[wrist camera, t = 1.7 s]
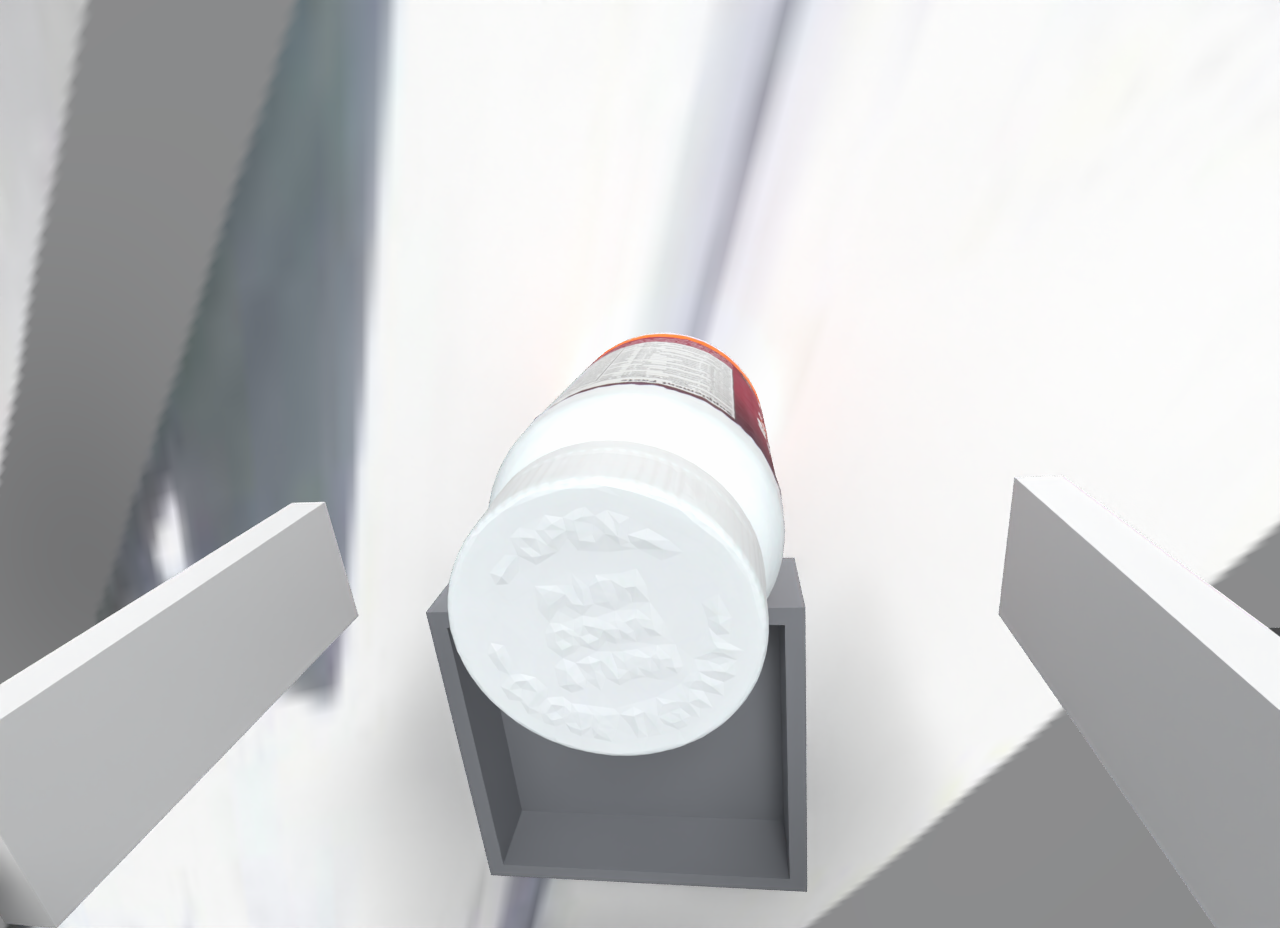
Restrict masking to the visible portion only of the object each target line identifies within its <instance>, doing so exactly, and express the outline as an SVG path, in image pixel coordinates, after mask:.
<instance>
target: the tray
mask: <svg viewBox="0 0 1280 928" xmlns="http://www.w3.org/2000/svg"><path fill="white" fill-rule="evenodd" d="M448 590H449V583H448V585H447V586H446V587H445V589H444V590H443V591H442V592H441V594H440V595H439V596H438V598H437V599H436V600H435V601H434V603H433V604H432V605H431V607H430V608H429V609H428V611H427V612H426V614H427V618H428V622H429V626H430V630H431V634H432V638H433V642H434V646H435V650H436V654H437V658H438V662H439V666H440V670H441V674H442V678H443V682H444V687H445V691H446V695H447V699H448V703H449V707H450V711H451V715H452V719H453V723H454V727H455V731H456V735H457V739H458V743H459V747H460V751H461V755H462V759H463V763H464V767H465V771H466V775H467V779H468V783H469V787H470V791H471V795H472V799H473V803H474V807H475V811H476V815H477V819H478V823H479V827H480V831H481V835H482V840H483V844H484V848H485V852H486V856H487V860H488V864H489V868H490V872H491V875H501V876H520V877H538V878H557V879H576V880H595V881H614V882H633V883H652V884H671V885H690V886H709V887H727V888H746V889H765V890H784V891H803V892H807V807H806V650H805V604H804V600H803V595H802V591H801V586H800V582H799V577H798V572H797V568H796V563H795V559H794V558H782V562H781V566H780V570H779V573H778V576H777V579H776V582H775V584H774V586H773V589H772V591H771V593H770V595H769V596H768V598H767V604H768V615H769V637H768V645H767V652H766V656H765V660H764V663H763V667H762V670H761V673H760V675H759V678H758V680H757V682H756V684H755V686H754V688H753V689H752V691H751V693H750V694H749V696H748V697H747V699H746V700H745V701H744V703H743V704H742V705H741V706H740V707H739V709H738V710H737V711H736V712H735V713H734V714H733V715H732V716H731V717H730V718H729V719H728V720H727V721H726V722H724V723H723V724H722V725H721V726H719V727H718V728H716V729H715V730H713V731H712V732H710V733H709V734H707V735H706V736H704V737H702V738H700V739H698V740H696V741H694V742H691V743H689V744H686V745H684V746H681V747H678V748H675V749H671V750H666V751H663V752H658V753H653V754H646V755H637V756H611V755H604V754H597V753H591V752H586V751H582V750H577V749H573V748H569V747H567V746H564V745H561V744H558V743H556V742H553V741H551V740H548V739H546V738H544V737H542V736H540V735H538V734H536V733H534V732H532V731H530V730H528V729H527V728H525V727H524V726H522V725H521V724H519V723H517V722H516V721H515V720H513V719H512V718H511V717H509V716H508V715H507V714H506V713H504V712H503V711H502V710H501V709H500V708H499V707H498V706H496V705H495V704H494V703H493V702H492V701H491V700H490V699H489V698H488V697H487V696H486V695H485V694H484V693H483V691H482V690H481V689H480V688H479V686H478V685H477V684H476V682H475V681H474V680H473V678H472V677H471V675H470V674H469V672H468V671H467V669H466V667H465V666H464V664H463V662H462V660H461V657H460V655H459V654H458V652H457V649H456V646H455V643H454V640H453V637H452V633H451V630H450V623H449V616H448Z"/></svg>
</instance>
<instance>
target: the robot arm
mask: <svg viewBox="0 0 1280 928" xmlns="http://www.w3.org/2000/svg"><path fill="white" fill-rule="evenodd" d="M999 616H1000V617H1001V618H1002V620H1003V621H1004V623H1005V624H1006V626H1007V627H1008V629H1009V630H1010V631H1011V633H1012V634H1013V636H1014V637H1015V639H1016V640H1017V642H1018V643H1019V644H1020V646H1021V647H1022V649H1023V650H1024V652H1025V653H1026V655H1027V656H1028V657H1029V659H1030V660H1031V662H1032V663H1033V665H1034V666H1035V668H1036V669H1037V670H1038V672H1039V673H1040V675H1041V676H1042V678H1043V679H1044V681H1045V682H1046V683H1047V685H1048V686H1049V688H1050V689H1051V691H1052V692H1053V694H1054V695H1055V696H1056V698H1057V699H1058V701H1059V702H1060V704H1061V705H1062V707H1063V708H1064V709H1065V711H1066V712H1067V714H1068V715H1069V717H1070V718H1071V719H1072V721H1073V722H1074V724H1075V725H1076V727H1077V728H1078V730H1079V731H1080V733H1081V734H1082V735H1083V737H1084V738H1085V740H1086V741H1087V742H1088V744H1089V746H1090V747H1091V748H1092V750H1093V751H1094V753H1095V754H1096V756H1097V757H1098V758H1099V760H1100V761H1101V763H1102V764H1103V766H1104V767H1105V768H1106V770H1107V771H1108V773H1109V774H1110V776H1111V777H1112V779H1113V780H1114V782H1115V783H1116V784H1117V786H1118V787H1119V789H1120V790H1121V792H1122V793H1123V795H1124V796H1125V797H1126V799H1127V801H1128V802H1129V803H1130V805H1131V806H1132V808H1133V809H1134V811H1135V812H1136V814H1137V815H1138V816H1139V818H1140V819H1141V821H1142V822H1143V824H1144V825H1145V826H1146V828H1147V829H1148V831H1149V832H1150V834H1151V835H1152V837H1153V838H1154V839H1155V841H1156V842H1157V844H1158V845H1159V847H1160V848H1161V850H1162V851H1163V853H1164V854H1165V855H1166V857H1167V858H1168V860H1169V861H1170V863H1171V864H1172V866H1173V867H1174V868H1175V870H1176V871H1177V873H1178V874H1179V876H1180V877H1181V879H1182V880H1183V881H1184V883H1185V884H1186V886H1187V887H1188V889H1189V890H1190V892H1191V893H1192V894H1193V896H1194V897H1195V899H1196V900H1197V901H1198V903H1199V905H1200V906H1201V907H1202V909H1203V910H1204V911H1205V913H1206V915H1207V916H1208V918H1209V919H1210V920H1211V922H1212V923H1213V925H1214V926H1215V928H1280V628H1267V627H1266V626H1265V625H1263V624H1262V623H1261V622H1259V621H1258V620H1257V619H1255V618H1254V617H1253V616H1251V615H1250V614H1249V613H1247V612H1246V611H1245V610H1243V609H1242V608H1241V607H1239V606H1238V605H1237V604H1235V603H1234V602H1232V601H1231V600H1230V599H1228V598H1227V597H1226V596H1224V595H1223V594H1222V593H1220V592H1219V591H1218V590H1216V589H1215V588H1214V587H1212V586H1211V585H1210V584H1208V583H1207V582H1206V581H1204V580H1203V579H1202V578H1200V577H1199V576H1198V575H1196V574H1195V573H1194V572H1192V571H1191V570H1190V569H1188V568H1187V567H1185V566H1184V565H1183V564H1181V563H1180V562H1179V561H1177V560H1176V559H1175V558H1173V557H1172V556H1171V555H1169V554H1168V553H1167V552H1165V551H1164V550H1163V549H1161V548H1160V547H1159V546H1157V545H1156V544H1155V543H1153V542H1152V541H1151V540H1149V539H1148V538H1147V537H1145V536H1144V535H1142V534H1141V533H1140V532H1138V531H1137V530H1136V529H1134V528H1133V527H1132V526H1130V525H1129V524H1128V523H1126V522H1125V521H1124V520H1122V519H1121V518H1120V517H1118V516H1117V515H1116V514H1114V513H1113V512H1112V511H1110V510H1109V509H1108V508H1106V507H1105V506H1104V505H1102V504H1101V503H1099V502H1098V501H1097V500H1095V499H1094V498H1093V497H1091V496H1090V495H1089V494H1087V493H1086V492H1085V491H1083V490H1082V489H1081V488H1079V487H1078V486H1077V485H1075V484H1074V483H1073V482H1071V481H1070V480H1069V479H1067V478H1066V477H1065V476H1038V477H1015V478H1014V486H1013V495H1012V503H1011V512H1010V521H1009V529H1008V538H1007V546H1006V555H1005V563H1004V572H1003V580H1002V589H1001V598H1000V606H999ZM357 617H358V613H357V609H356V606H355V603H354V599H353V596H352V592H351V589H350V585H349V582H348V579H347V575H346V572H345V568H344V565H343V561H342V558H341V555H340V551H339V548H338V544H337V541H336V537H335V534H334V531H333V527H332V524H331V520H330V517H329V513H328V510H327V507H326V503H325V502H307V503H291V504H290V505H288V506H286V507H285V508H283V509H281V510H280V511H278V512H277V513H275V514H273V515H272V516H270V517H269V518H267V519H265V520H264V521H262V522H261V523H259V524H257V525H256V526H254V527H253V528H251V529H249V530H248V531H246V532H245V533H243V534H241V535H240V536H238V537H236V538H235V539H233V540H232V541H230V542H228V543H227V544H225V545H224V546H222V547H220V548H219V549H217V550H216V551H214V552H212V553H211V554H209V555H208V556H206V557H204V558H203V559H201V560H200V561H198V562H196V563H195V564H193V565H191V566H190V567H188V568H187V569H185V570H183V571H182V572H180V573H179V574H177V575H175V576H174V577H172V578H171V579H169V580H167V581H166V582H164V583H163V584H161V585H159V586H158V587H156V588H154V589H153V590H151V591H150V592H148V593H146V594H145V595H143V596H142V597H140V598H138V599H137V600H135V601H134V602H132V603H130V604H129V605H127V606H126V607H124V608H122V609H121V610H119V611H118V612H116V613H114V614H113V615H111V616H109V617H108V618H106V619H105V620H103V621H101V622H100V623H98V624H97V625H95V626H93V627H92V628H90V629H89V630H87V631H85V632H84V633H83V634H81V635H79V636H77V637H76V638H74V639H73V640H71V641H69V642H68V643H66V644H64V645H63V646H61V647H60V648H58V649H57V650H55V651H53V652H52V653H50V654H48V655H47V656H45V657H44V658H42V659H40V660H39V661H37V662H36V663H34V664H33V665H31V666H29V667H28V668H26V669H24V670H23V671H21V672H20V673H18V674H16V675H15V676H13V677H12V678H10V679H8V680H7V681H5V682H3V683H2V684H0V916H1V917H2V919H3V921H4V922H5V923H6V924H17V925H28V926H38V927H49V928H57V927H58V926H59V925H60V924H61V923H62V922H63V921H64V920H65V919H66V918H67V917H68V916H69V915H70V914H71V913H72V912H73V911H74V910H75V909H76V908H77V907H78V906H79V905H80V903H81V902H82V901H83V900H84V899H85V898H86V897H87V896H88V895H89V894H90V893H91V892H92V891H93V890H94V889H95V888H96V887H97V886H98V885H99V884H100V883H101V882H102V881H103V880H104V879H105V878H106V877H107V876H108V875H109V873H110V872H111V871H112V870H113V869H114V868H115V867H116V866H117V865H118V864H119V863H120V862H121V861H122V860H123V859H124V858H125V857H126V856H127V855H128V854H129V853H130V852H131V851H132V850H133V849H134V848H135V847H136V846H137V845H138V843H139V842H140V841H141V840H142V839H143V838H144V837H145V836H146V835H147V834H148V833H149V832H150V831H151V830H152V829H153V828H154V827H155V826H156V825H157V824H158V823H159V822H160V821H161V820H162V819H163V818H164V817H165V816H166V814H167V813H168V812H169V811H170V810H171V809H172V808H173V807H174V806H175V805H176V804H177V803H178V802H179V801H180V800H181V799H182V798H183V797H184V796H185V795H186V794H187V793H188V792H189V791H190V790H191V789H192V788H193V787H194V786H195V784H196V783H197V782H198V781H199V780H200V779H201V778H202V777H203V776H204V775H205V774H206V773H207V772H208V771H209V770H210V769H211V768H212V767H213V766H214V765H215V764H216V763H217V762H218V761H219V760H220V759H221V758H222V757H223V756H224V754H225V753H226V752H227V751H228V750H229V749H230V748H231V747H232V746H233V745H234V744H235V743H236V742H237V741H238V740H239V739H240V738H241V737H242V736H243V735H244V734H245V733H246V732H247V731H248V730H249V729H250V728H251V727H252V725H253V724H254V723H255V722H256V721H257V720H258V719H259V718H260V717H261V716H262V715H263V714H264V713H265V712H266V711H267V710H268V709H269V708H270V707H271V706H272V705H273V704H274V703H275V702H276V701H277V700H278V699H279V698H280V697H281V695H282V694H283V693H284V692H285V691H286V690H287V689H288V688H289V687H290V686H291V685H292V684H293V683H294V682H295V681H296V680H297V679H298V678H299V677H300V676H301V675H302V674H303V673H304V672H305V671H306V670H307V669H308V668H309V667H310V665H311V664H312V663H313V662H314V661H315V660H316V659H317V658H318V657H319V656H320V655H321V654H322V653H323V652H324V651H325V650H326V649H327V648H328V647H329V646H330V645H331V644H332V643H333V642H334V641H335V640H336V639H337V638H338V636H339V635H340V634H341V633H342V632H343V631H344V630H345V629H346V628H347V627H348V626H349V625H350V624H351V623H352V622H353V621H354V620H355V619H356V618H357Z"/></svg>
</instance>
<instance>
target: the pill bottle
mask: <svg viewBox="0 0 1280 928" xmlns="http://www.w3.org/2000/svg"><path fill="white" fill-rule="evenodd" d="M784 540H785V526H784V516H783V505H782V498H781V491H780V488H779V485H778V481H777V479H776V476H775V471H774V467H773V463H772V458H771V453H770V447H769V444H768V439H767V433H766V428H765V424H764V419H763V414H762V410H761V406H760V402H759V399H758V397H757V394H756V391H755V389H754V387H753V385H752V383H751V382H750V380H749V379H748V377H747V376H746V374H745V373H744V372H743V370H742V369H741V368H740V367H739V366H738V364H737V363H736V362H735V361H734V360H733V359H732V358H730V357H729V356H728V355H727V354H726V353H724V352H723V351H721V350H720V349H718V348H717V347H715V346H714V345H711V344H709V343H707V342H705V341H703V340H700V339H698V338H695V337H692V336H689V335H683V334H677V333H653V334H646V335H641V336H638V337H634V338H631V339H628V340H626V341H624V342H622V343H620V344H618V345H616V346H614V347H613V348H611V349H609V350H608V351H606V352H605V353H604V354H603V355H601V356H600V357H599V358H598V359H597V360H596V361H595V362H593V363H592V364H591V365H590V366H589V367H588V368H587V369H586V370H585V371H584V372H583V373H582V374H581V375H580V376H579V377H578V378H577V379H576V380H575V381H574V382H573V383H572V384H571V385H570V386H569V387H568V388H567V389H566V390H565V391H564V392H563V393H562V394H561V395H560V396H559V397H558V398H557V399H556V400H555V401H554V402H553V403H552V404H551V405H550V406H549V407H548V408H547V409H546V410H545V411H544V412H543V413H542V414H540V415H539V416H538V417H536V418H535V419H534V421H533V422H532V423H531V425H530V426H529V427H528V428H527V429H526V431H525V432H524V433H523V434H522V435H521V436H520V437H519V439H518V440H517V441H516V442H515V444H514V445H513V446H512V448H511V449H510V451H509V452H508V454H507V456H506V457H505V459H504V461H503V463H502V465H501V467H500V469H499V471H498V474H497V476H496V479H495V482H494V485H493V488H492V492H491V497H490V502H489V508H488V510H487V511H486V512H485V514H484V515H483V516H482V517H481V519H480V520H479V521H478V522H477V524H476V525H475V526H474V528H473V529H472V531H471V532H470V533H469V535H468V536H467V538H466V539H465V541H464V543H463V545H462V547H461V549H460V551H459V553H458V556H457V558H456V560H455V563H454V566H453V569H452V572H451V577H450V581H449V590H448V616H449V623H450V630H451V633H452V637H453V640H454V643H455V646H456V649H457V652H458V654H459V655H460V657H461V660H462V662H463V664H464V666H465V667H466V669H467V671H468V672H469V674H470V675H471V677H472V678H473V680H474V681H475V682H476V684H477V685H478V686H479V688H480V689H481V690H482V691H483V693H484V694H485V695H486V696H487V697H488V698H489V699H490V700H491V701H492V702H493V703H494V704H495V705H496V706H498V707H499V708H500V709H501V710H502V711H503V712H504V713H506V714H507V715H508V716H509V717H511V718H512V719H513V720H515V721H516V722H517V723H519V724H521V725H522V726H524V727H525V728H527V729H528V730H530V731H532V732H534V733H536V734H538V735H540V736H542V737H544V738H546V739H548V740H551V741H553V742H556V743H558V744H561V745H564V746H567V747H569V748H573V749H577V750H582V751H586V752H591V753H597V754H604V755H611V756H637V755H646V754H653V753H658V752H663V751H666V750H671V749H675V748H678V747H681V746H684V745H686V744H689V743H691V742H694V741H696V740H698V739H700V738H702V737H704V736H706V735H707V734H709V733H710V732H712V731H713V730H715V729H716V728H718V727H719V726H721V725H722V724H723V723H724V722H726V721H727V720H728V719H729V718H730V717H731V716H732V715H733V714H734V713H735V712H736V711H737V710H738V709H739V707H740V706H741V705H742V704H743V703H744V701H745V700H746V699H747V697H748V696H749V694H750V693H751V691H752V689H753V688H754V686H755V684H756V682H757V680H758V678H759V675H760V673H761V670H762V667H763V663H764V660H765V656H766V652H767V645H768V637H769V615H768V604H767V598H768V596H769V595H770V593H771V591H772V589H773V586H774V584H775V582H776V579H777V576H778V573H779V570H780V566H781V562H782V557H783V550H784Z"/></svg>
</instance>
